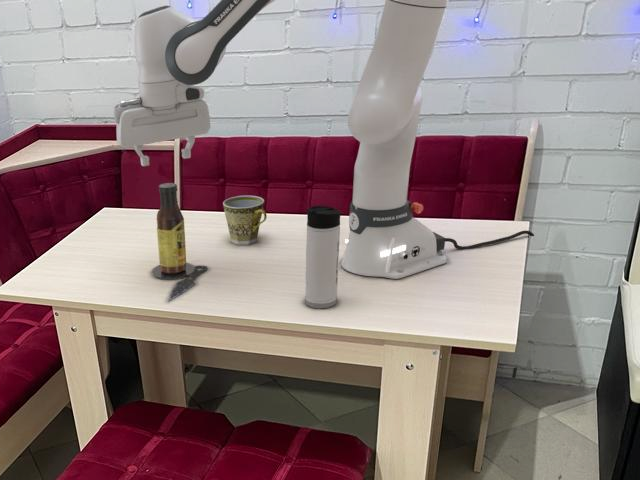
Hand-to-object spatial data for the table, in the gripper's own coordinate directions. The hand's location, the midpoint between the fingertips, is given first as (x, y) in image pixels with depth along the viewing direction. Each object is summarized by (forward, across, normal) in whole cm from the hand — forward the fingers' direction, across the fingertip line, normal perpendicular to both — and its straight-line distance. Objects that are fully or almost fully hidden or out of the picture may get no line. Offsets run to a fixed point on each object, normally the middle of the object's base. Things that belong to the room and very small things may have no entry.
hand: (166, 161), depth 162 cm
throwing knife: (+26, 0, -8) cm, 27 cm away
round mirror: (+26, 0, 0) cm, 26 cm away
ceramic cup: (+26, +23, +9) cm, 36 cm away
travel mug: (+26, +21, -31) cm, 45 cm away
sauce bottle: (+25, 0, 0) cm, 25 cm away
